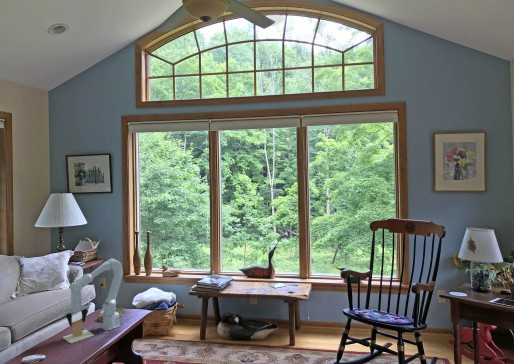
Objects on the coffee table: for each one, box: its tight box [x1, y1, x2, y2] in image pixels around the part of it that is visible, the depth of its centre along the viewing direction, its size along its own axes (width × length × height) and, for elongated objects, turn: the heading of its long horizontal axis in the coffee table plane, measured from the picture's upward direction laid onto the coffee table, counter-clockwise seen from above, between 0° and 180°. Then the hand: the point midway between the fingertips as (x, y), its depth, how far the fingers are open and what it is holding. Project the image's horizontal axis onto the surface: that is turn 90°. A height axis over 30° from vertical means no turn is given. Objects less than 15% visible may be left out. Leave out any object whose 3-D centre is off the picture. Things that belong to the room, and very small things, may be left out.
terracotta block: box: [71, 319, 84, 337], centre depth 228 cm, size 4×4×8 cm
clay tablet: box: [97, 307, 125, 323], centre depth 260 cm, size 14×5×20 cm
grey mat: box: [62, 329, 95, 344], centre depth 227 cm, size 14×12×1 cm
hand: (77, 323), depth 228 cm, fingers open, 7 cm apart
